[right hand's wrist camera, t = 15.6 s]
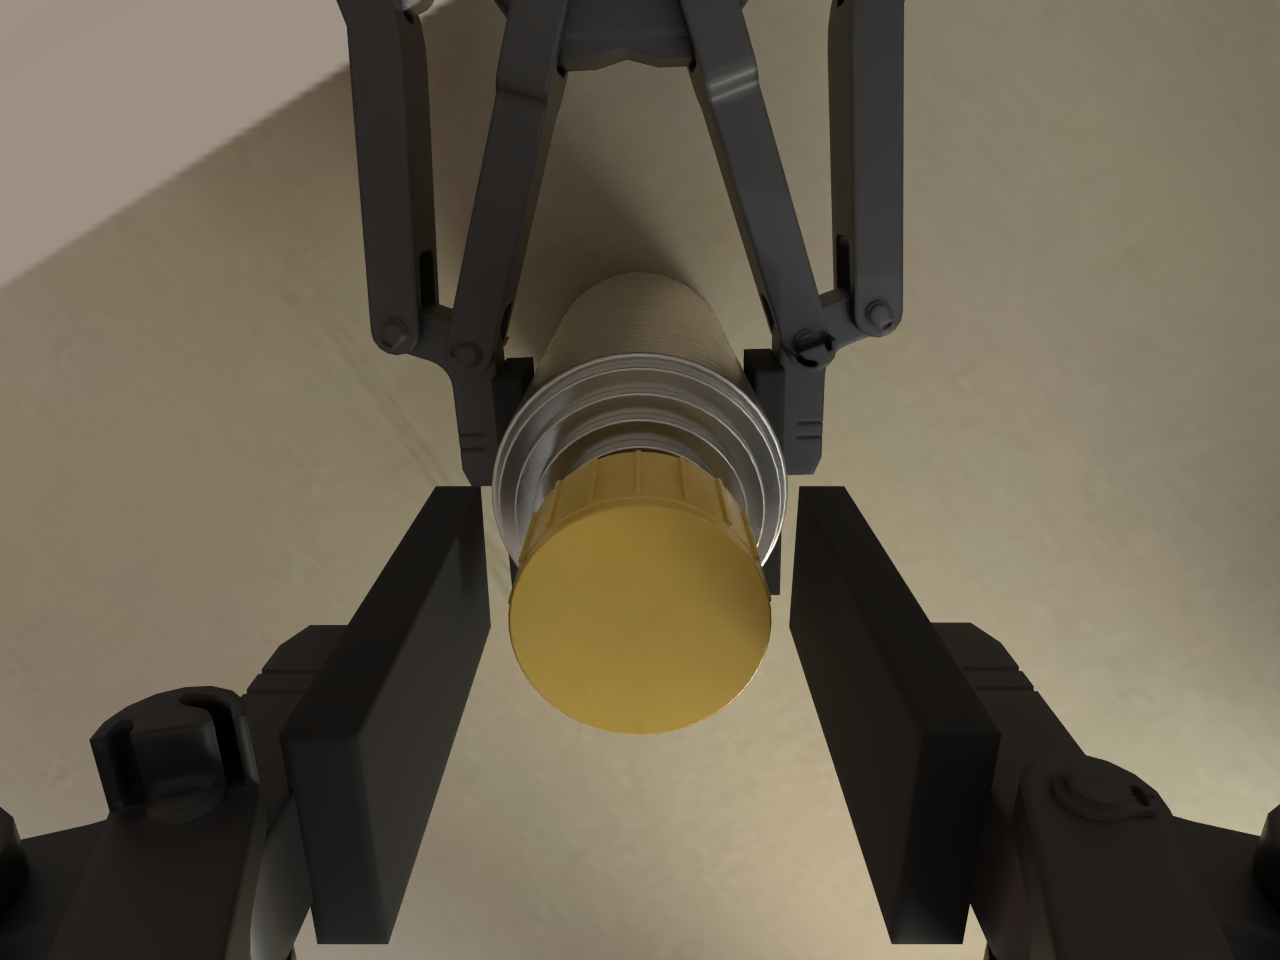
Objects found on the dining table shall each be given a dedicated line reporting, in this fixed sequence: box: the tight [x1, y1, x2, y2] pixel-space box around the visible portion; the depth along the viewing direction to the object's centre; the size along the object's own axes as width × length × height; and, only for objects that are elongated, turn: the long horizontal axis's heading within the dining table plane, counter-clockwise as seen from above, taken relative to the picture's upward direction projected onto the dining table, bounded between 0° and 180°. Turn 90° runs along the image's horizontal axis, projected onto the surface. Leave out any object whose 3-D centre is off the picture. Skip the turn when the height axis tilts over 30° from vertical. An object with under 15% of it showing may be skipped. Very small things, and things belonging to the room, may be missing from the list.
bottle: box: [492, 272, 788, 567], centre depth 21 cm, size 6×6×18 cm
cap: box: [509, 450, 771, 735], centre depth 13 cm, size 4×4×2 cm
